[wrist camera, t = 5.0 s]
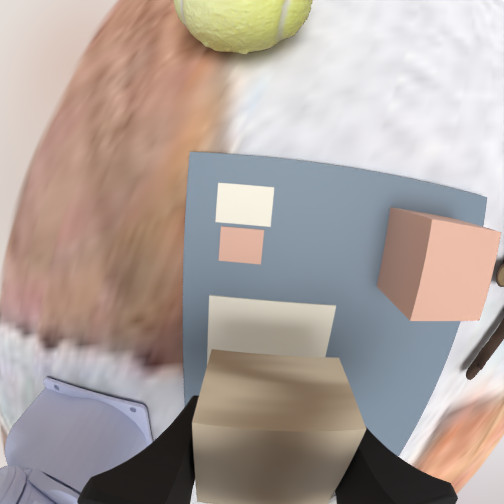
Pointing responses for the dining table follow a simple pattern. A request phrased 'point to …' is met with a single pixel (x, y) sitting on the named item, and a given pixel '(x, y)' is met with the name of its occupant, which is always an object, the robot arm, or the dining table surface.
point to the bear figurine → (486, 352)
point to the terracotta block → (437, 266)
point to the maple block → (273, 429)
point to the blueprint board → (311, 277)
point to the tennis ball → (242, 22)
